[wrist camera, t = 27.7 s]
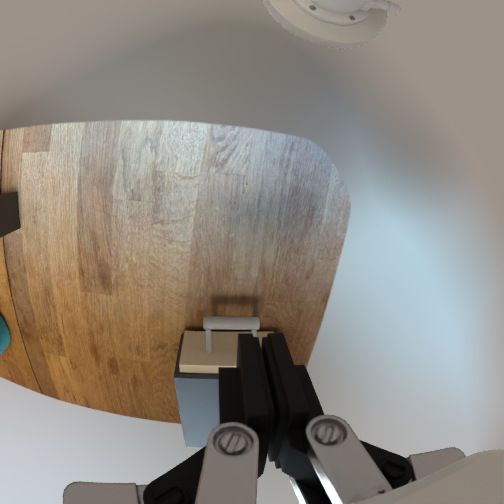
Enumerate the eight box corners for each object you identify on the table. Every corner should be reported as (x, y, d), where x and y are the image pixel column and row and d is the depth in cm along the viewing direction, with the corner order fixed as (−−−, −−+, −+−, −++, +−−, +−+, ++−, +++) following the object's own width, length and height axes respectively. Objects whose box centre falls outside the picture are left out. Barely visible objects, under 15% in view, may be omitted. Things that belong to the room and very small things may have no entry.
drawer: (182, 298, 33) (175, 329, 27) (276, 299, 35) (288, 329, 28) (191, 400, 39) (188, 433, 33) (264, 400, 40) (270, 432, 34)
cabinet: (181, 333, 36) (173, 377, 28) (275, 334, 38) (288, 377, 29) (188, 405, 41) (185, 446, 32) (266, 404, 42) (274, 445, 34)
